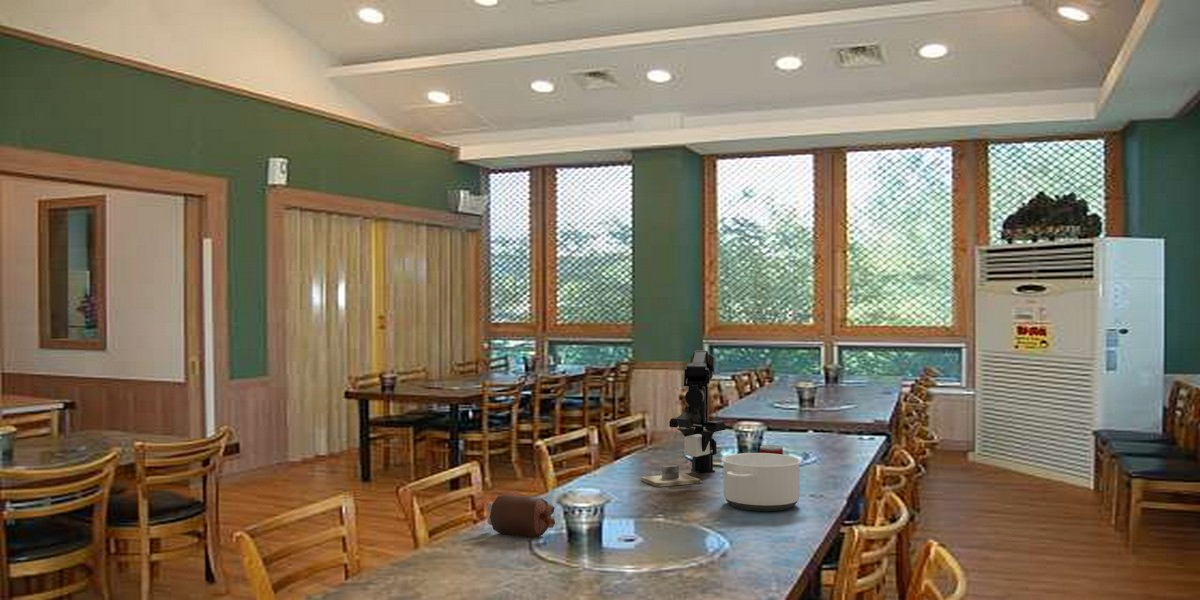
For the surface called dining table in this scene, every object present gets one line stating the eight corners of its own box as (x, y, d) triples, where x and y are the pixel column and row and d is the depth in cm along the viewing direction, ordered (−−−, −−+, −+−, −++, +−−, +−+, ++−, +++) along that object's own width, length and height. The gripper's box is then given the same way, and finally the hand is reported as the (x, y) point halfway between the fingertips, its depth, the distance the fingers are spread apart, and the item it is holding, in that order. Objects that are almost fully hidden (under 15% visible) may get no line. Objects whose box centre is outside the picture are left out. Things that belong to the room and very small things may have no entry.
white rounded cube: (697, 452, 313) (697, 433, 313) (709, 453, 309) (709, 435, 309) (684, 455, 307) (684, 436, 307) (696, 456, 304) (696, 438, 304)
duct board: (683, 476, 323) (683, 461, 323) (700, 483, 311) (700, 467, 311) (641, 480, 316) (641, 465, 316) (656, 486, 305) (656, 470, 305)
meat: (475, 536, 243) (475, 497, 243) (500, 527, 253) (500, 489, 253) (542, 544, 234) (541, 503, 234) (565, 534, 244) (564, 494, 244)
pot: (772, 521, 257) (772, 471, 257) (698, 510, 271) (698, 463, 271) (821, 500, 284) (821, 455, 284) (752, 491, 298) (751, 448, 298)
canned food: (781, 477, 321) (781, 445, 321) (784, 481, 313) (783, 448, 313) (759, 477, 322) (758, 444, 322) (760, 481, 314) (760, 448, 314)
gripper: (659, 403, 308) (659, 450, 308) (706, 407, 296) (706, 457, 296) (679, 400, 316) (679, 446, 317) (726, 404, 304) (726, 452, 304)
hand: (697, 450), depth 308 cm, fingers closed on white rounded cube, 5 cm apart
